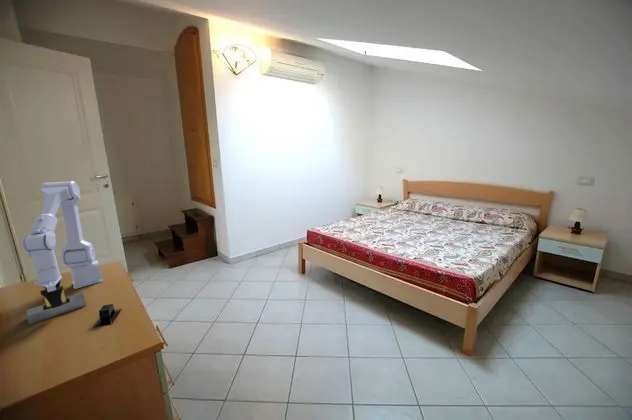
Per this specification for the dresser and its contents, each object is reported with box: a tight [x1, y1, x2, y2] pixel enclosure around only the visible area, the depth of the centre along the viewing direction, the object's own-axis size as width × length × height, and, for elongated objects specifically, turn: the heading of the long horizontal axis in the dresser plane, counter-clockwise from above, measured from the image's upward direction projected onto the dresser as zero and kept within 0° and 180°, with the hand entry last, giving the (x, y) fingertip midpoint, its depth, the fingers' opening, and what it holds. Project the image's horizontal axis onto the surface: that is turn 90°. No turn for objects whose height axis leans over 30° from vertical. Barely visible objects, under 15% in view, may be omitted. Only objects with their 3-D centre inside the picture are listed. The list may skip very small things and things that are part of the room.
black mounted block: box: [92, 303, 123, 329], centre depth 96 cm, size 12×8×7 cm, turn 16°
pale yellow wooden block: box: [43, 289, 67, 309], centre depth 99 cm, size 5×2×6 cm, turn 134°
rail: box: [26, 292, 87, 325], centre depth 100 cm, size 15×5×3 cm, turn 134°
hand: (56, 302), depth 99 cm, fingers open, 7 cm apart
